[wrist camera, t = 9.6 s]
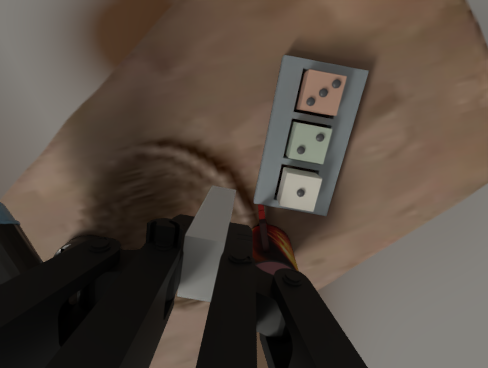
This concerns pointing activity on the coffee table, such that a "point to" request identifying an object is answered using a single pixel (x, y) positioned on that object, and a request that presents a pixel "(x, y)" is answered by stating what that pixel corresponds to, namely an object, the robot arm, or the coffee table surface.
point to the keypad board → (284, 114)
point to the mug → (271, 247)
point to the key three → (320, 92)
